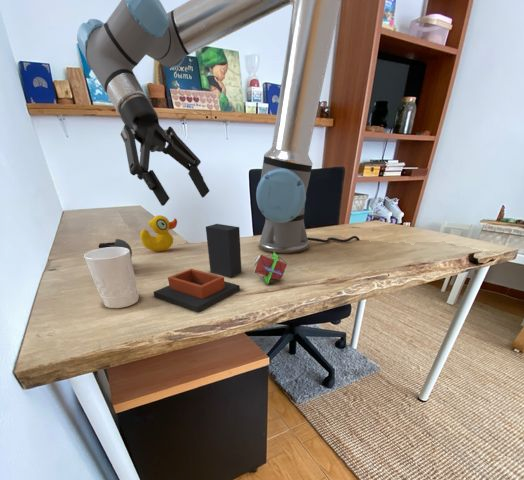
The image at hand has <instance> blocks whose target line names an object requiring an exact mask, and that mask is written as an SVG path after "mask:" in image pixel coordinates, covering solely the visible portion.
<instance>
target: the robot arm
mask: <svg viewBox="0 0 524 480" xmlns="http://www.w3.org/2000/svg"><path fill="white" fill-rule="evenodd" d="M341 2H342V0H188V1H186V2H184V3H182V4H181V5H179V6H177V7H176V8H174V9H172V10H171V11H169V12H167V10H166V9H165V7H164V5H163V4H162V2H161V0H120V1H119V3H118V5H117V6H116V7H115V9H114V10H113V12H112V13H111V14H110V16H109V17H108V19H107V20H106V22H103V21H102V20H99V19H97V18H90V19H88V20H87V22H82V23H81V24H80V25H79V27H78V29H77V34H76V40H77V46H78V47H79V49H80V52H81V53H82V55H83V57H84V59H85V61H86V64H87V66H88V67H89V68H90V70H91V71H92V73H93V75H94V76H95V77H96V79H97V81H98V82H99V84H100V86H101V87H102V89H103V90H104V92H105V94H106V96H107V97H108V99H109V100H110V102H111V104H112V105H113V107H114V109H115V110H116V112H117V114H118V115H119V116H120V119H121V122H122V123H123V125H124V126H123V128H122V130H121V132H120V134H119V135H120V137H121V138H122V141H123V142H124V147H125V153H126V157H127V163H128V169H129V173H130V175H132V176H136V175H137V176H136V177H137V179H138V180H140V181H142V180H143V181H144V183H145V185H146V186H147V188H148V189H149V190H150V191H152V193H153V194H154V196H155V197H156V199H157V201H158V203H159V204H160V206H161V207H163V206H166V204H167V203H168V201H169V200H171V199H170V198H171V197H170V196H169V195H168V192H167V191H166V189H165V188H164V186H163V185H162V182H161V181H160V179H159V178H158V176H157V175H156V173H155V172H154V170H153V169H150V170H149V167H150V156H151V153H154V152H157V153H163V154H164V155H169V156H170V157H171V158H172V159H173V160H175V161H176V162H177V163H178V164H180V165H181V166H182V167H183V168H185V170H187V171H188V173H187V174H188V176H189V178H190V180H191V181H192V183H193V185H194V186H195V188H196V190H197V192H198V193H199V195H200V197H201V198H205V197H206V196H207V195H208V194H209V192H210V188H209V187H208V185H207V183H206V182H205V179H204V177H203V175H202V173H201V171H200V169H199V165H200V164H201V163H202V162H201V159H200V158H199V157H198V156H197V154H195V153H194V152H193V151H192V150H191V148H190V147H188V145H187V144H186V142H184V141H183V140H182V138H180V137H179V136H178V135H177V133H176V131H175V129H174V128H173V127H172V126H168V127H167V129H164V128H163V126H161V124H160V122H159V115H158V112H156V110H155V108H154V106H153V104H152V103H151V101H150V100H149V98H148V95H147V93H146V92H145V90H144V88H143V87H142V85H141V83H140V82H139V80H138V78H137V76H136V75H135V73H134V71H133V70H134V68H135V67H137V66H138V65H139V63H140V62H141V61H142V60H143V59H144V58H145V56H148V57H150V58H151V59H153V60H154V61H156V62H158V63H159V64H160V65H162V66H164V67H166V68H169V69H176V68H179V67H180V66H181V65H182V64H183V62H184V60H185V58H186V57H187V56H189V55H192V54H193V53H195V52H197V51H199V50H202V49H203V48H205V47H207V46H209V45H211V44H213V43H216V42H218V41H219V40H221V39H223V38H225V37H227V36H229V35H231V34H234V33H236V32H237V31H239V30H241V29H243V28H245V27H247V26H249V25H251V24H254V23H255V22H258V21H259V20H261V19H263V18H266V17H267V16H269V15H271V14H273V13H275V12H277V11H279V10H281V9H283V8H285V7H287V6H289V5H290V6H292V10H291V17H290V24H289V29H288V31H289V32H288V35H287V37H288V38H287V44H286V50H285V55H284V57H285V58H284V62H283V63H284V64H283V70H282V77H281V78H282V79H281V85H280V90H279V98H278V103H277V110H276V116H275V117H276V119H275V123H274V131H273V138H272V144H271V147H270V149H269V150H267V151H266V152H265V153H264V154H263V160H262V167H261V173H260V174H261V175H260V180H259V182H258V183H257V186H256V191H255V196H256V197H255V199H256V204H257V207H258V209H259V211H260V212H261V214H262V216H263V217H265V222H264V225H263V228H262V231H261V236H260V239H259V248H260V249H261V250H262V251H264V252H268V253H270V252H271V253H272V252H273V253H274V252H275V253H276V254H283V255H284V254H285V255H286V254H297V253H302V252H304V251H306V250H307V249H308V248H309V241H310V242H311V241H312V242H313V241H314V242H319V243H329V242H330V241H335V242H339V243H347V242H351V241H352V240H354V239H355V240H356V241H361V239H360V238H359V236H356V235H352V236H350V237H348V238H345V239H341V238H337V237H328V238H327V239H322V238H316V237H308V233H307V231H306V226H305V207H306V201H307V192H308V187H309V182H310V177H311V173H312V168H313V162H312V159H311V158H310V156H309V153H310V148H311V143H312V138H313V133H314V128H315V124H316V120H317V115H318V109H319V105H320V100H321V95H322V91H323V86H324V82H325V76H326V71H327V68H328V63H329V58H330V53H331V48H332V44H333V40H334V33H335V29H336V25H337V19H338V16H339V15H338V14H339V11H340V6H341ZM136 142H137V143H139V144H140V145H139V146H140V147H139V152H138V149H137V148H138V147H137V143H136ZM139 153H140V154H139ZM273 253H272V254H273Z"/></svg>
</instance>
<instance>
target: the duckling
mask: <svg viewBox="0 0 524 480" xmlns="http://www.w3.org/2000/svg"><path fill="white" fill-rule="evenodd" d="M177 225H178V220H177V218H174V219H173V220H171V221H169V219H168V217H166V216H164V215H160V214H159V215H155V216H154V217H152V218H151V219H150V220H149V221H148V226H149V228H151V230H153V232H154V233H156V235H155V236H153V235H152V236H151V234H150V232H149V231H148V229H146V228H143V229H142V230H141V231H140V235H139V237H140V241H141V244H142V245H143V247H145V248H146V249H147V250H150V251H153V252H165V251H168V250H169V249H170V248H171V247H172V246H173V244H174V237H173V235H172V234H171V233H170V232H169V230H174V229H175V228H176V227H177Z"/></svg>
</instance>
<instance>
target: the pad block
mask: <svg viewBox="0 0 524 480" xmlns="http://www.w3.org/2000/svg"><path fill="white" fill-rule="evenodd" d="M240 231H241V230H240V227H239V226H234V225H227V224H221V223H215V224H210V225H208V226H207V225H206V226H205V234H206V242H207V252H208V261H209V262H208V263H209V270H210V272H209V273H211V274H215V275H218V276H222V277H228V278H231V279H232V278H233V277H237V276H239V275H240V274H242V255H241V233H240Z"/></svg>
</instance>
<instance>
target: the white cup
mask: <svg viewBox="0 0 524 480" xmlns="http://www.w3.org/2000/svg"><path fill="white" fill-rule="evenodd" d="M83 258H84V261H85V263H86V266H87V268H88V270H89V271H88V272H89V273H90V276H91V278H92V280H93V283H94V286H95V288H96V290H97V292H98V294H99V296H100V298H101V301H102V303H103V306H105V307H106V308H109V309H121V308H126V307H130V306H133V305H134V304H136V303H138V302H139V297H140V295H139V292H138V287H137V280H136V275H135V270H134V265H133V260H132V257H131V255H130V251H129V249H127V248H123V247H107V248H97V249H96V248H95V249H92V250H89V251H87V252H85V253H84V254H83Z"/></svg>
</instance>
